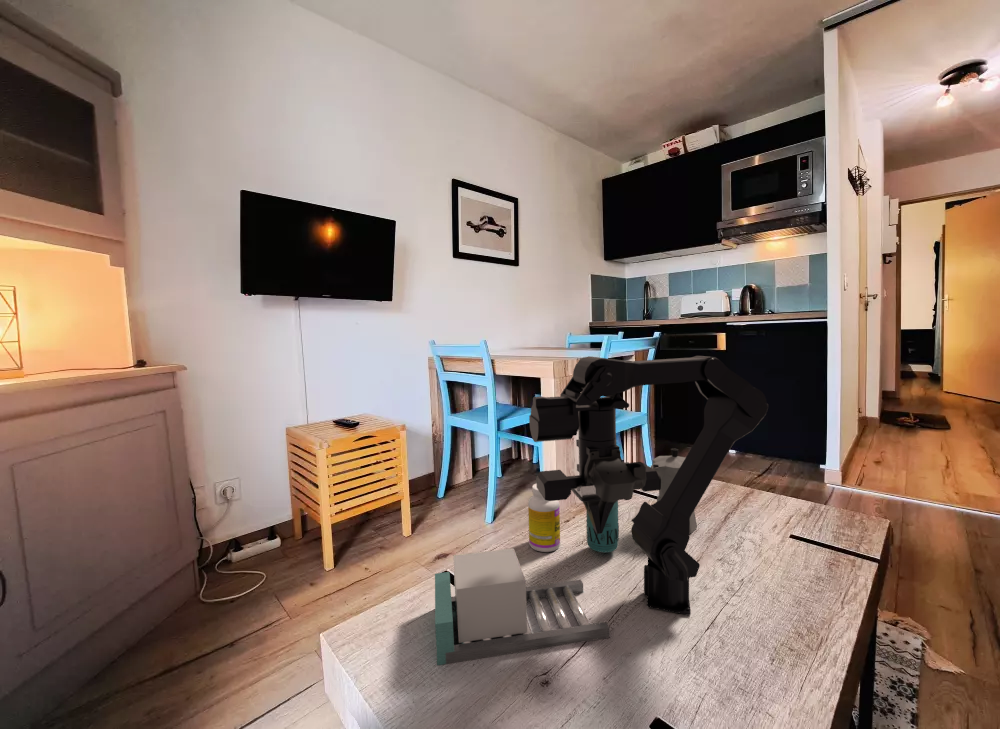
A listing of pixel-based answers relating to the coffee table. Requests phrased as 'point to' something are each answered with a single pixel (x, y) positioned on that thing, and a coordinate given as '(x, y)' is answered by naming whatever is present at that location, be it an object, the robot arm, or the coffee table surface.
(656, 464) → the coffeepot
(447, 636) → the roller bed
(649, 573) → the robot arm
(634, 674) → the coffee table surface
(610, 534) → the beverage bottle
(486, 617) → the off-white matte cube
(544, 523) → the supplement bottle
